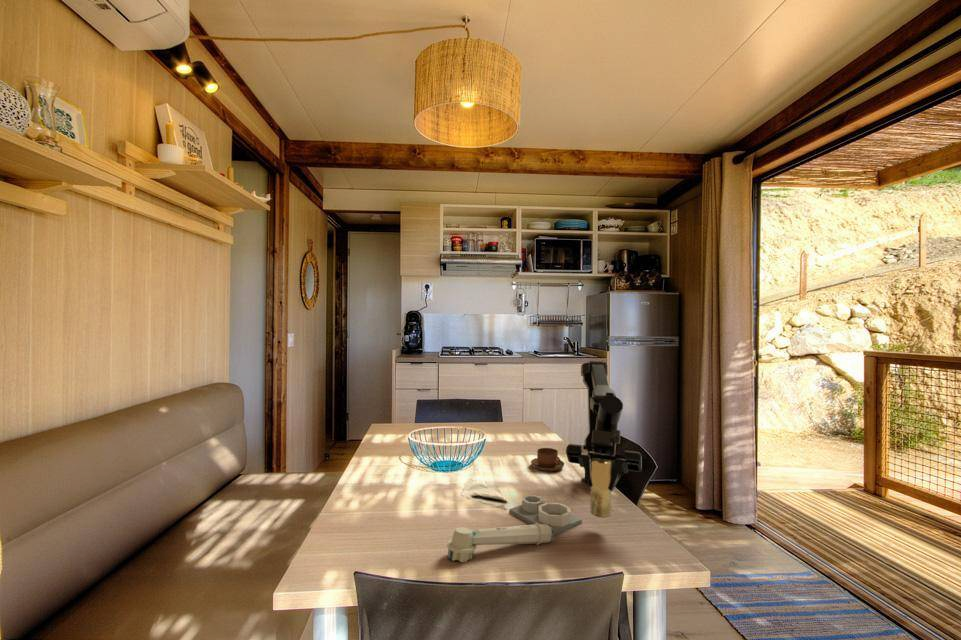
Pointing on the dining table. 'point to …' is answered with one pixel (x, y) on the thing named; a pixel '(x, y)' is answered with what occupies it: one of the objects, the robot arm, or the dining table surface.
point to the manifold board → (545, 513)
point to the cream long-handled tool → (496, 538)
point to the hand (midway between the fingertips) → (600, 488)
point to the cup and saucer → (547, 460)
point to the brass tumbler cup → (601, 487)
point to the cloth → (482, 493)
